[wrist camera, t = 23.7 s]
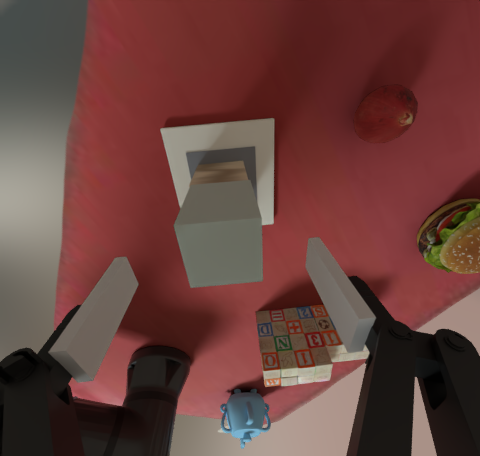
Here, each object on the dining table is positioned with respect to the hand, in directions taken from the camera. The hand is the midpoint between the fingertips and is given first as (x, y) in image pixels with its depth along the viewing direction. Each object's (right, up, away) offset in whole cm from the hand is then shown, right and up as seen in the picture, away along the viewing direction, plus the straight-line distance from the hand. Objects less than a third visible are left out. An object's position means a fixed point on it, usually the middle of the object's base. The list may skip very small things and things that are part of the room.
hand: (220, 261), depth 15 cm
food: (+39, +3, +22) cm, 45 cm away
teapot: (+3, -52, +53) cm, 74 cm away
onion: (+18, +17, +12) cm, 27 cm away
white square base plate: (-1, +10, +15) cm, 18 cm away
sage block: (0, +5, +7) cm, 9 cm away
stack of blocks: (+16, -17, +33) cm, 40 cm away
